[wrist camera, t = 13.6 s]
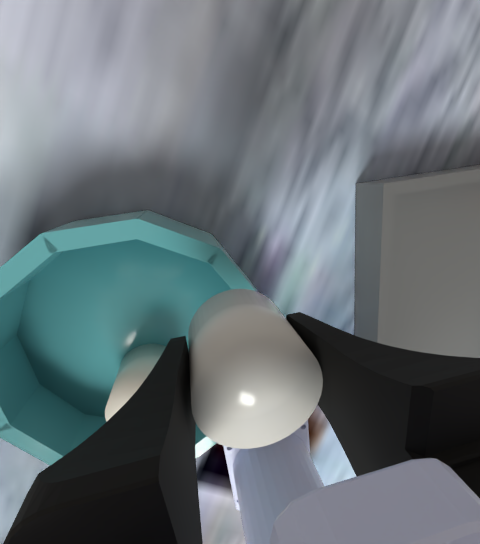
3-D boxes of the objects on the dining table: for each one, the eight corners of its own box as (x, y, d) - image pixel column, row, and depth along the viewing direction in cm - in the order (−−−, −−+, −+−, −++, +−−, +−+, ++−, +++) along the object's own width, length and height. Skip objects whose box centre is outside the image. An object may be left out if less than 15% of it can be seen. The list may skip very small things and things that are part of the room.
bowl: (263, 390, 24) (280, 434, 20) (61, 442, 22) (32, 504, 18) (238, 196, 19) (255, 200, 15) (-35, 236, 17) (-108, 255, 12)
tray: (490, 376, 30) (521, 396, 27) (353, 415, 28) (373, 441, 25) (535, 156, 23) (585, 152, 20) (355, 183, 20) (383, 183, 18)
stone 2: (285, 362, 14) (324, 429, 10) (197, 383, 13) (203, 463, 9) (279, 280, 12) (321, 323, 9) (179, 299, 12) (179, 353, 8)
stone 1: (188, 384, 21) (190, 427, 18) (131, 402, 21) (119, 449, 17) (172, 336, 20) (170, 371, 16) (110, 353, 19) (93, 394, 16)
